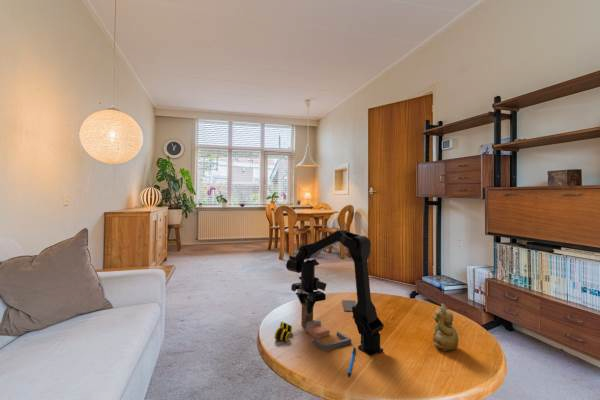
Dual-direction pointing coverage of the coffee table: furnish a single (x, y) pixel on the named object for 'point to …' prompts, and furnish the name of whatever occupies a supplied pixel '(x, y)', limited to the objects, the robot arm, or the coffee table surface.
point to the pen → (351, 362)
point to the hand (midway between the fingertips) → (307, 311)
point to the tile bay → (324, 347)
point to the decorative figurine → (444, 330)
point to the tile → (318, 331)
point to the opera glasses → (283, 332)
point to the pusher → (308, 318)
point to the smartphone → (348, 305)
